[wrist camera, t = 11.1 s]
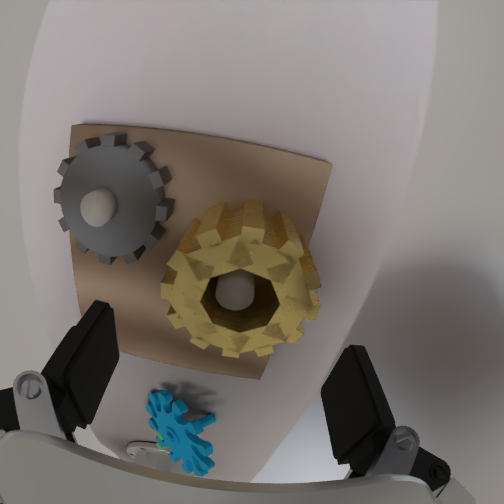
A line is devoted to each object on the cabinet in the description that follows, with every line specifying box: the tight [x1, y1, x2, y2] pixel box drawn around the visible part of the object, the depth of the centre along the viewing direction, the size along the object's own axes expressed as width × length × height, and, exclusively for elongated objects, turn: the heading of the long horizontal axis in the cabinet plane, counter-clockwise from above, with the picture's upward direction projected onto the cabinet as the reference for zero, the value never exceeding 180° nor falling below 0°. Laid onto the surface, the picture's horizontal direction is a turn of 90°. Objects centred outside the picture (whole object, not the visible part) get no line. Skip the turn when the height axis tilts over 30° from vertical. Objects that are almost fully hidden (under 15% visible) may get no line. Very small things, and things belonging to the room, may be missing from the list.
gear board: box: [54, 124, 333, 380], centre depth 16 cm, size 17×15×5 cm
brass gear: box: [161, 199, 321, 358], centre depth 14 cm, size 7×7×4 cm
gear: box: [146, 390, 216, 477], centre depth 24 cm, size 11×6×10 cm
